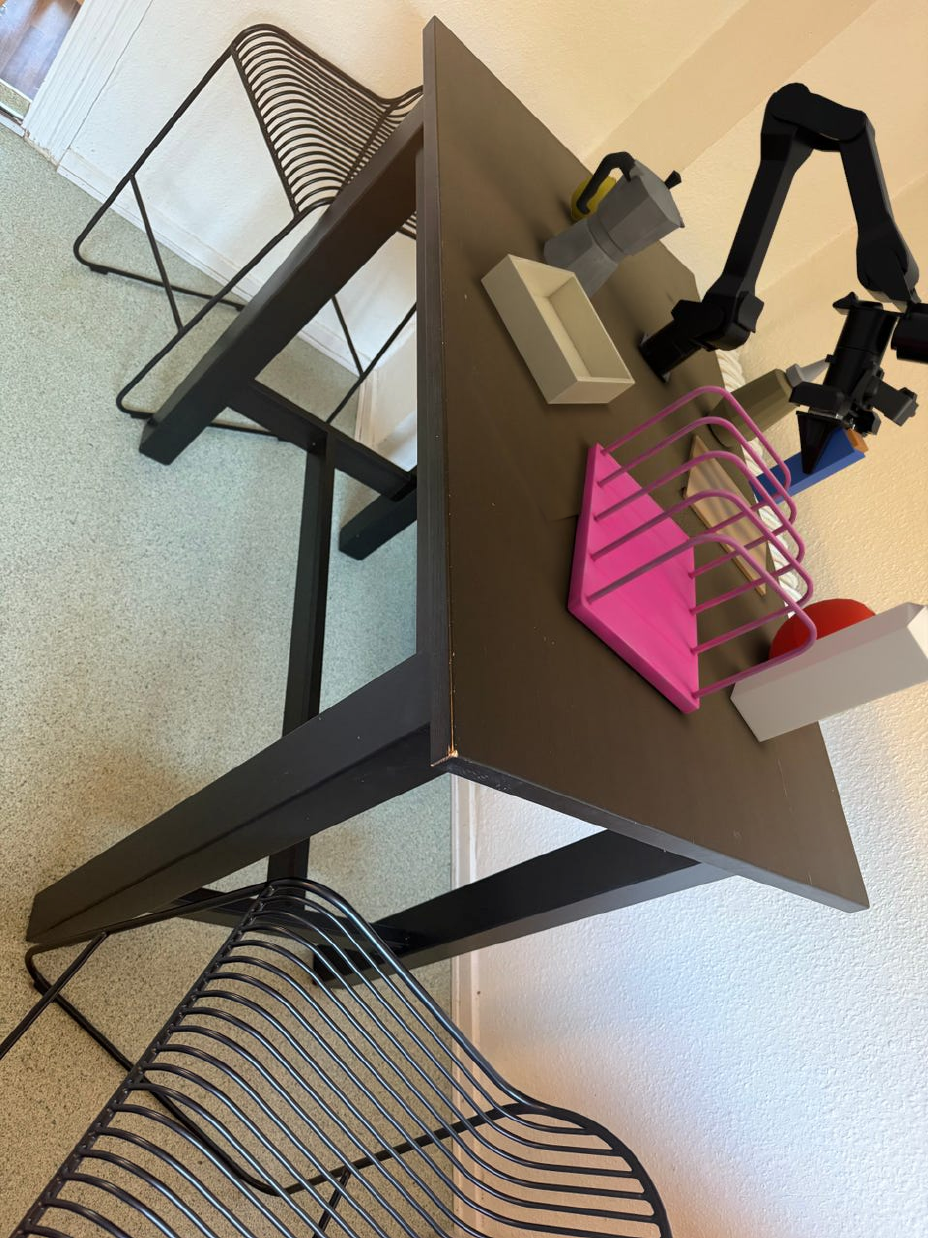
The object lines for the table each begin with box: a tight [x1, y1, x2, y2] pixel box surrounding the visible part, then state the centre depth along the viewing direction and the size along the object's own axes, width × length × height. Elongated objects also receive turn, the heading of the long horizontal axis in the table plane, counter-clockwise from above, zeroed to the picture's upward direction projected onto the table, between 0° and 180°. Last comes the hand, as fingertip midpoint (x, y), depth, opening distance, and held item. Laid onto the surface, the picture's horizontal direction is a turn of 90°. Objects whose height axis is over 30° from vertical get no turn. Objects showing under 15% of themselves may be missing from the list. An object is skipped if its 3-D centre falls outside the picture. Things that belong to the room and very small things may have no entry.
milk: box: [729, 601, 928, 743], centre depth 84 cm, size 6×6×22 cm
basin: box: [480, 253, 636, 405], centre depth 92 cm, size 15×15×5 cm
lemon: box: [570, 174, 618, 221], centre depth 119 cm, size 6×6×8 cm
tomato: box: [768, 597, 877, 661], centre depth 96 cm, size 13×11×14 cm
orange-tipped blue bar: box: [748, 428, 870, 507], centre depth 107 cm, size 4×5×14 cm
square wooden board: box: [682, 434, 767, 597], centre depth 113 cm, size 18×18×1 cm
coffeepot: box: [543, 151, 686, 300], centre depth 102 cm, size 15×9×18 cm, turn 103°
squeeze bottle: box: [707, 357, 829, 448], centre depth 122 cm, size 8×8×18 cm
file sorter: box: [567, 385, 817, 715], centre depth 79 cm, size 17×25×16 cm
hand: (813, 476), depth 106 cm, fingers closed on orange-tipped blue bar, 5 cm apart
